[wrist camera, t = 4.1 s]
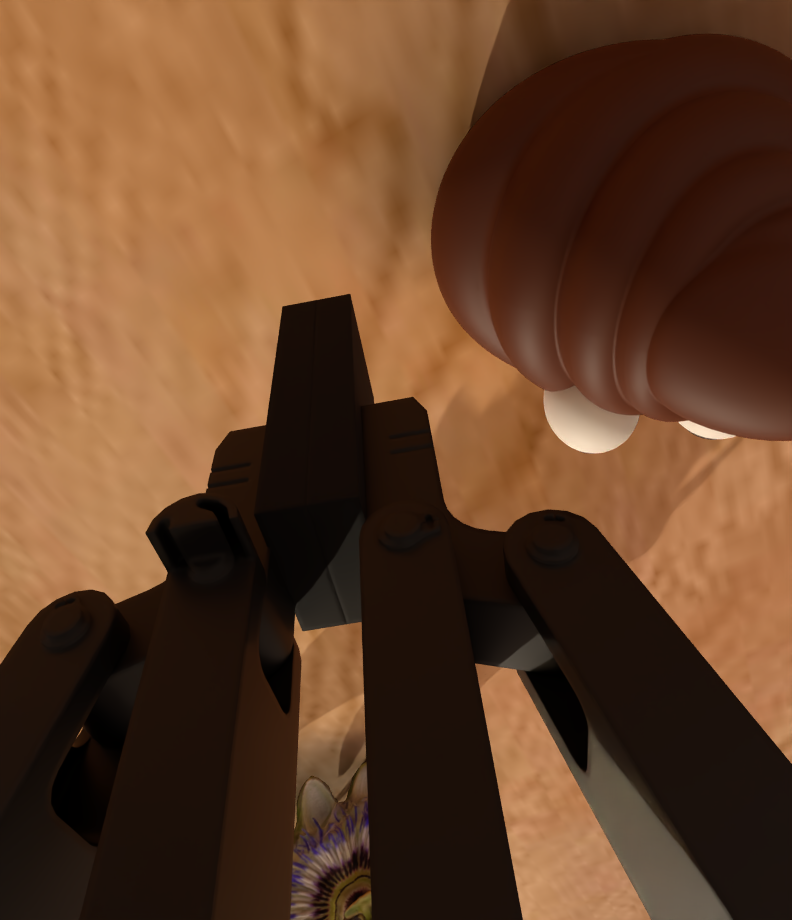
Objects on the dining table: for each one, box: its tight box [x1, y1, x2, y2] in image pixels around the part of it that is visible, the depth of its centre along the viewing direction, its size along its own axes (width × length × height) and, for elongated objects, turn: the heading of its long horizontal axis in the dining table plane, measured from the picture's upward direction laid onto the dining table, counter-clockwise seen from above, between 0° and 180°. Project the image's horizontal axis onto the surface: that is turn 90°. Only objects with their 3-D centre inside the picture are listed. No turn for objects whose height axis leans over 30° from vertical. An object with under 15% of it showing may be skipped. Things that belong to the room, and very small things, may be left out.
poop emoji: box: [431, 34, 792, 454], centre depth 14 cm, size 10×8×9 cm
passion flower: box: [290, 762, 372, 920], centre depth 35 cm, size 11×11×12 cm
